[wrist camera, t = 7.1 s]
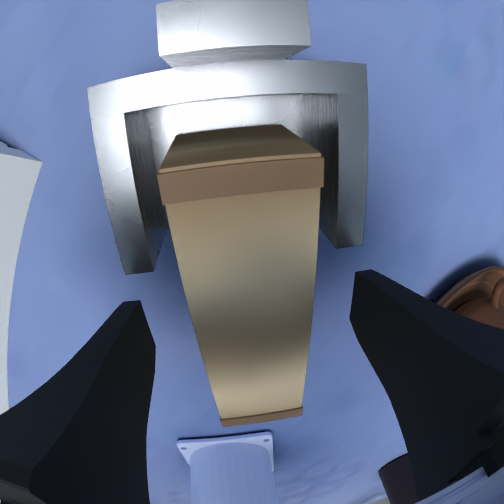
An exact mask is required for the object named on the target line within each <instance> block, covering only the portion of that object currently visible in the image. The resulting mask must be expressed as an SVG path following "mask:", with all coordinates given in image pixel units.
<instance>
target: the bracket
mask: <svg viewBox="0 0 504 504" xmlns="http://www.w3.org/2000/svg"><path fill="white" fill-rule="evenodd" d="M156 13H157V31H158V46H159V56H160V57H161V58H162V59H163V60H164V61H165V62H167V63H168V64H169V65H170V66H171V67H172V68H173V69H168V70H162V71H156V72H151V73H146V74H141V75H136V76H132V77H127V78H123V79H119V80H114V81H110V82H107V83H103V84H99V85H95V86H92V87H88V88H87V90H88V99H89V107H90V115H91V123H92V130H93V136H94V143H95V149H96V154H97V160H98V165H99V171H100V176H101V181H102V186H103V190H104V195H105V199H106V204H107V208H108V212H109V217H110V221H111V225H112V229H113V233H114V236H115V240H116V244H117V248H118V251H119V255H120V258H121V262H122V265H123V269H124V272H125V275H128V274H137V273H145V272H153V271H154V269H155V266H156V262H157V258H158V255H159V251H160V248H161V245H162V241H163V238H164V235H165V231H166V228H169V227H170V226H169V221H168V216H167V211H166V206H165V205H162V200H161V195H160V189H159V184H158V179H157V174H158V172H159V168H160V166H161V164H162V162H163V160H164V158H165V156H166V154H167V152H168V150H169V148H170V146H171V144H172V142H173V140H174V138H175V136H176V135H180V134H187V133H194V132H201V131H210V130H218V129H228V128H238V127H249V126H262V125H279V124H282V125H283V126H284V127H286V128H287V129H289V130H290V131H292V132H293V133H294V134H296V135H297V136H299V137H300V138H301V139H303V140H304V141H305V142H307V143H308V144H310V145H311V146H312V147H314V148H315V149H316V150H318V151H319V152H320V153H321V156H323V157H324V184H323V187H321V188H320V210H319V228H320V229H321V230H322V232H323V233H324V234H325V235H326V237H327V238H328V239H329V240H330V242H331V243H332V244H333V245H334V247H335V248H336V249H337V248H345V247H352V246H360V245H363V235H364V223H365V210H366V193H367V171H368V90H367V69H366V64H361V63H351V62H339V61H322V60H285V59H287V58H289V57H291V56H292V55H294V54H296V53H298V52H300V51H302V50H304V49H306V48H308V47H310V46H312V45H311V34H310V23H309V13H308V4H307V0H177V1H171V2H165V3H159V4H156Z"/></svg>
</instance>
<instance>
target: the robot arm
mask: <svg viewBox="0 0 504 504" xmlns="http://www.w3.org/2000/svg"><path fill="white" fill-rule="evenodd" d="M349 319H350V321H351V324H352V327H353V329H354V332H355V334H356V337H357V339H358V342H359V344H360V345H361V347H362V349H363V351H364V353H365V354H366V356H367V358H368V360H369V361H370V363H371V365H372V367H373V369H374V370H375V372H376V374H377V376H378V377H379V379H380V381H381V383H382V385H383V386H384V388H385V390H386V392H387V394H388V396H389V399H390V401H391V404H392V406H393V409H394V411H395V414H396V417H397V419H398V422H399V425H400V428H401V431H402V434H403V437H404V440H405V444H406V447H407V451H408V455H409V459H410V462H411V467H412V472H413V476H414V482H415V487H416V494H417V498H418V500H419V502H417V503H415V504H504V329H502V328H498V327H494V326H491V325H488V324H485V323H481V322H478V321H476V320H473V319H470V318H468V317H465V316H463V315H460V314H458V313H455V312H453V311H451V310H448V309H446V308H444V307H442V306H440V305H438V304H436V303H434V302H432V301H430V300H428V299H426V298H424V297H422V296H420V295H419V294H417V293H415V292H413V291H411V290H409V289H408V288H406V287H404V286H402V285H400V284H399V283H397V282H395V281H393V280H391V279H390V278H388V277H386V276H384V275H382V274H380V273H378V272H376V271H374V270H365V271H358V272H355V280H354V289H353V297H352V304H351V311H350V318H349ZM155 351H156V345H155V343H154V340H153V337H152V334H151V331H150V329H149V326H148V323H147V320H146V317H145V314H144V311H143V308H142V305H141V301H140V300H137V301H127V302H123V303H122V304H121V305H120V306H119V307H118V308H117V309H116V310H115V311H114V312H113V313H112V314H111V316H110V317H109V318H108V319H107V320H106V321H105V322H104V324H103V325H102V326H101V327H100V328H99V329H98V330H97V332H96V333H95V334H94V335H93V336H92V337H91V338H90V340H89V341H88V342H87V343H86V344H85V345H84V346H83V347H82V348H81V349H80V350H79V351H78V352H77V353H76V354H75V356H74V357H73V358H72V359H71V360H70V361H69V362H68V363H67V364H66V365H65V366H64V367H63V368H62V369H61V370H60V371H58V372H57V373H56V374H55V375H54V376H53V377H52V378H51V379H49V380H48V381H47V382H46V383H45V384H43V385H42V386H41V387H40V388H38V389H37V390H36V391H34V392H33V393H32V394H30V395H29V396H28V397H27V398H25V399H24V400H22V401H21V402H20V403H18V404H17V405H15V406H14V407H12V408H10V409H9V410H7V411H6V412H4V413H2V414H1V415H0V500H1V503H0V504H150V501H149V492H148V480H147V462H146V434H147V423H148V415H149V408H150V401H151V395H152V388H153V381H154V374H155ZM177 447H178V449H179V450H180V452H181V453H182V455H183V457H184V458H185V460H186V461H187V463H188V464H189V466H190V479H191V501H192V504H279V501H278V497H277V492H276V487H275V482H274V477H273V471H274V460H273V439H272V433H271V432H260V433H253V434H246V435H238V436H229V437H218V438H206V439H191V440H179V441H177Z"/></svg>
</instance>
